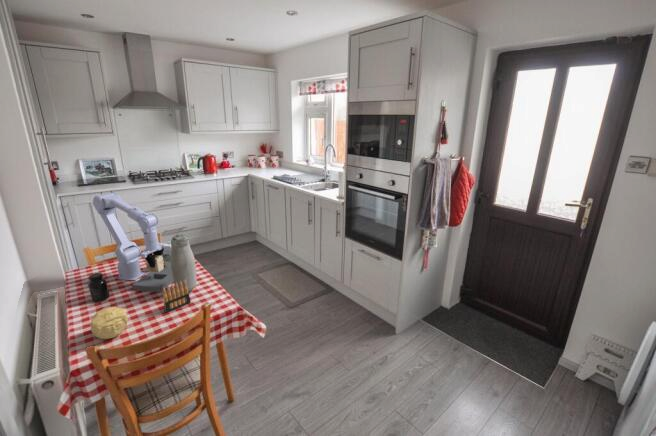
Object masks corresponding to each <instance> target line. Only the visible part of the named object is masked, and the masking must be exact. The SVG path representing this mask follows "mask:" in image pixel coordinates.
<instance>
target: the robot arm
mask: <svg viewBox="0 0 656 436" xmlns="http://www.w3.org/2000/svg"><path fill="white" fill-rule="evenodd" d="M92 199H93V200H92V205H93V207H94V208H95V210H96V212H97V214H98V215H100V217H101V219H102V221H103V223H104V224H105V226H106V228H107V230H108V231H109V233H110V235H111V237H112V238H113V240H114V241H115V243H116V245H117V246H116V248H115V249H114V253H115V256H116V260H117V261H118V263H117V268H116V269H117V272H118V277H119V278H118V279H117V280H123V281H138V280H139V279H140V278H142V277H143V276H145V275H146V272H143V271H141V270H142V269H141V265H140V260H139V259H140V257H141V258H142V259H146V260H147V262H148V264H149V265H150V267H151V268H154V267H155V257H156V255H159V256H162V254H163V251H164V249H163V248H161V247H163V246H164V243H165V242H163V241H161V242H160V241H159V237H158V231H157V225H158V223H159V219H158V217H157V215H156V214H154V213H147V212H145V211H143V210H142V209H140V208H139V207H138V206H131V205H130V204H128V203H127V202H126V201H124V200H123V199H122V197H121V195H120V194H118V193H117V192H115V191H112V192H109V193H106V194H105V193H104V194H101V195H96V196H94V197H93V198H92ZM116 209H119V210H120V211H123V212H124V213H127V216H128V218H130V219H132V220H133V221H134V222H136V223H137V224H138V226H139V227H140V230H141V233H142V234H143V239H144V244H145V245H144V246H145V249H144V250H143V252H142V250H141V248H140V247H139V246H138V245H137V244H136V242H134V241H131V240H130V239H128V236H127V235H126V233H125V231H124V229H123V228H122V226H121V225H120V224H121V223H120V222H119V221H118V218H117V217H116V215H115V213H114V211H116ZM162 257H163V256H162ZM146 260H145V261H146Z"/></svg>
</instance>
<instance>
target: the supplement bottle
mask: <svg viewBox="0 0 656 436" xmlns="http://www.w3.org/2000/svg"><path fill="white" fill-rule="evenodd" d="M88 278H89V282H88V283H87V285H88V289H89V293H90V294H89V295H90V299H91V301H92V302H93V303H102V302H104V301H106V300H108V299H109V298H110V297H111V296H110V290H109V286H108V281H107V279H106V278H105V277H104V276H103V273H102V272H95V273H92V274H89V276H88Z"/></svg>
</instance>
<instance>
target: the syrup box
mask: <svg viewBox="0 0 656 436" xmlns="http://www.w3.org/2000/svg"><path fill="white" fill-rule="evenodd" d="M161 248H163V249H164V251H163V254H162V260H163V266H164V268H167V269H171V261H170V259H171V241H165V242H164V246H163V247H161Z"/></svg>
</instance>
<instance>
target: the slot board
mask: <svg viewBox="0 0 656 436" xmlns="http://www.w3.org/2000/svg"><path fill="white" fill-rule="evenodd" d="M173 283H174V280H173V274H172V269H167V268H164V269H162V270H161V271H160V272H150V271H148V273H147V274H144V275H143V276H141V277H140V278H139V279H137V280H136V282H135V281H134V283H132V285H131V286H132V290H133V291H139V290H140V291H142V292H153V293H161V292H163V287H164V288H165V289H167V286H169V285H172V284H173Z"/></svg>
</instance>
